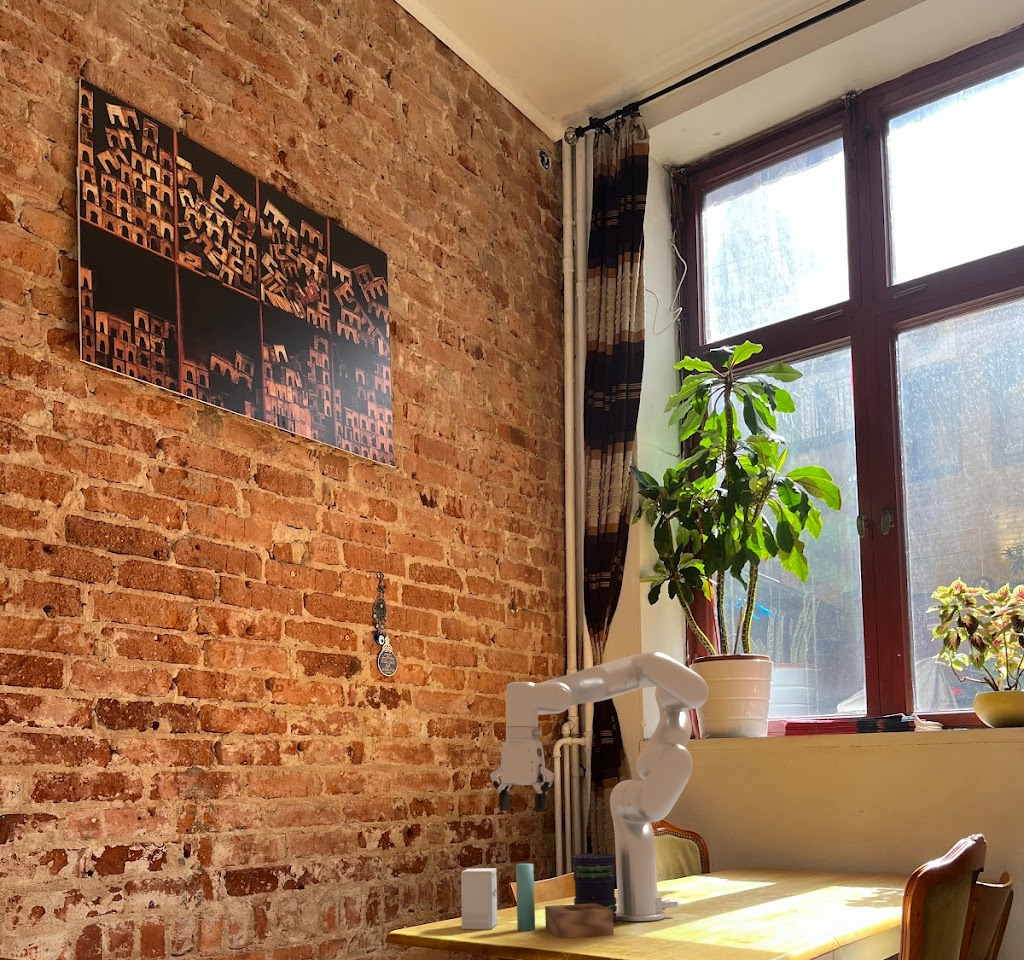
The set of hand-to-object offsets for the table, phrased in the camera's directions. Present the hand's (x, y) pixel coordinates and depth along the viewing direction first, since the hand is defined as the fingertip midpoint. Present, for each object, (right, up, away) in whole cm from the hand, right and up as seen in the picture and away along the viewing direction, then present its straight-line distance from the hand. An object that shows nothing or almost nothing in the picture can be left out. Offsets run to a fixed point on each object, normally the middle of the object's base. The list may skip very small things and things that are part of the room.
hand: (522, 811), depth 261 cm
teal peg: (+1, -25, -6) cm, 26 cm away
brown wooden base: (+13, -23, -11) cm, 29 cm away
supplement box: (-10, -27, -1) cm, 28 cm away
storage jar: (+17, -26, 0) cm, 31 cm away
